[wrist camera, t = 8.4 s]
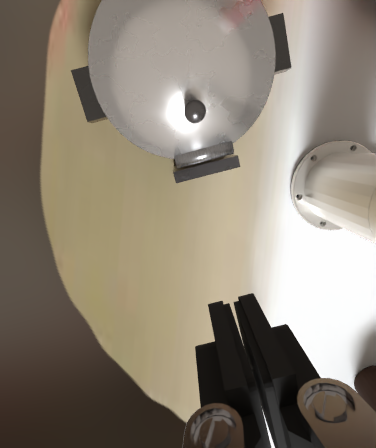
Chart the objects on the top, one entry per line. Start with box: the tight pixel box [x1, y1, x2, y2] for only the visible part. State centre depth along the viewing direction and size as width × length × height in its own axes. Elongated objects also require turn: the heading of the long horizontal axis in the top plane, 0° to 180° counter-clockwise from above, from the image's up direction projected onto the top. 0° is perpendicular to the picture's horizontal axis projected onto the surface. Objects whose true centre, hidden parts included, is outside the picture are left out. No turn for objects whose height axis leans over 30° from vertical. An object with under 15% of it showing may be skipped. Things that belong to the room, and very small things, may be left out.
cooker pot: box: [71, 13, 291, 183], centre depth 35 cm, size 22×19×10 cm
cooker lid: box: [88, 0, 276, 168], centre depth 28 cm, size 18×21×3 cm
